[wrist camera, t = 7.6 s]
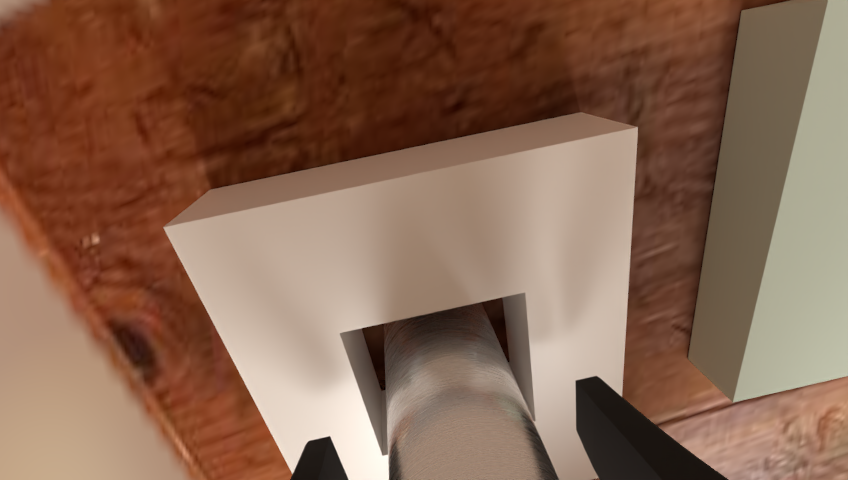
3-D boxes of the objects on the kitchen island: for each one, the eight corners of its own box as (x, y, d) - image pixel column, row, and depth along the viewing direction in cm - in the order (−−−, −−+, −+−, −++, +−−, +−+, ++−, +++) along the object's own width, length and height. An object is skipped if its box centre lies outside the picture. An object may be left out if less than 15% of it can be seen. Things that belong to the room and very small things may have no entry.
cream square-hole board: (582, 413, 19) (617, 473, 16) (334, 469, 18) (327, 541, 16) (580, 112, 12) (637, 127, 10) (210, 189, 12) (163, 227, 10)
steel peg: (488, 350, 16) (600, 640, 8) (393, 369, 16) (413, 683, 8) (479, 268, 15) (611, 533, 6) (373, 289, 14) (373, 586, 6)
